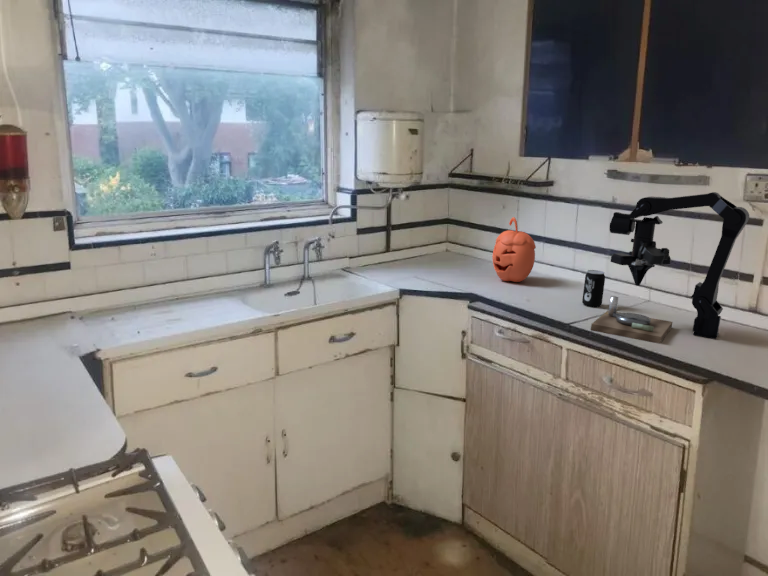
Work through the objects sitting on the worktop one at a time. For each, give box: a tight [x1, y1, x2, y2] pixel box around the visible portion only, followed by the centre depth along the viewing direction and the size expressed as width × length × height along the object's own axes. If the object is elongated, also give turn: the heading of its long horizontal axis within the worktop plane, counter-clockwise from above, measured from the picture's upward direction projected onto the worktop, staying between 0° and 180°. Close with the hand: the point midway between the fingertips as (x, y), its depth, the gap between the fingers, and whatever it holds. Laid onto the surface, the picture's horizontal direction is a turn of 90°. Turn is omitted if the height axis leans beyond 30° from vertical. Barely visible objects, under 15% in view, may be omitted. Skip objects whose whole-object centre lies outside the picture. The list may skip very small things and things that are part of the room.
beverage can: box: [582, 269, 606, 308], centre depth 235 cm, size 7×7×12 cm
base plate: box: [590, 309, 673, 344], centre depth 210 cm, size 20×20×4 cm
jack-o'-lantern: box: [491, 216, 537, 283], centre depth 266 cm, size 18×17×25 cm
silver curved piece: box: [608, 295, 651, 326], centre depth 210 cm, size 14×10×6 cm
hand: (637, 285), depth 217 cm, fingers closed
